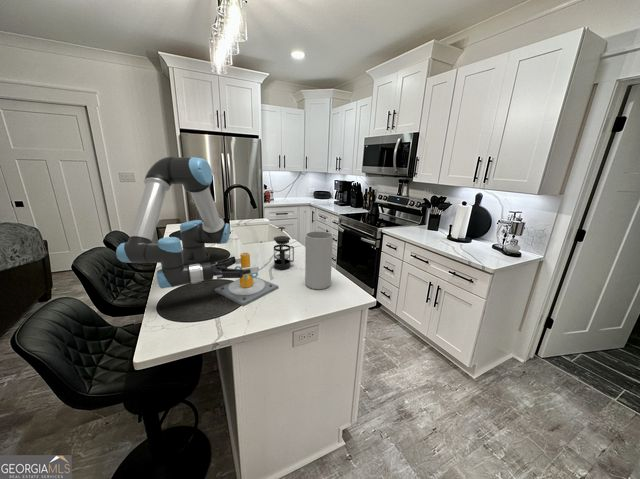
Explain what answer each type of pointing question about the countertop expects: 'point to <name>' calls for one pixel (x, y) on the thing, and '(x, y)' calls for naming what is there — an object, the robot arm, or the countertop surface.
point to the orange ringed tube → (247, 278)
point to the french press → (282, 252)
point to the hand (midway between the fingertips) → (253, 263)
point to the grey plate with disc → (246, 291)
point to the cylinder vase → (318, 259)
